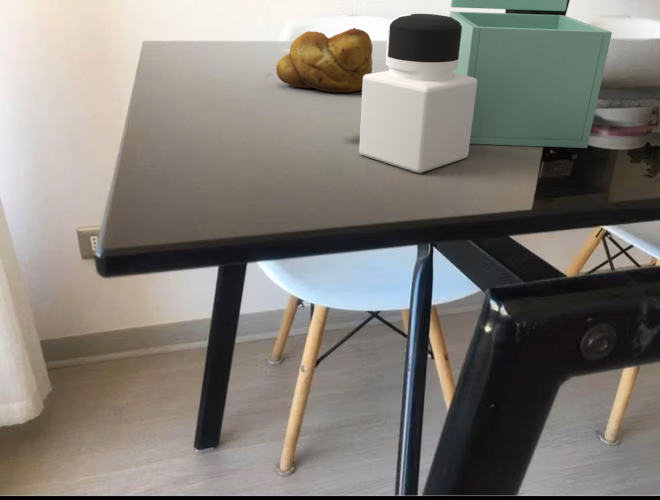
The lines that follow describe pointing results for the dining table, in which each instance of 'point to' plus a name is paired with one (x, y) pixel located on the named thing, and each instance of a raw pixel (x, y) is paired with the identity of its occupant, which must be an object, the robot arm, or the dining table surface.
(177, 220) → the dining table surface
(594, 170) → the dining table surface
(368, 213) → the dining table surface
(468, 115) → the medicine bottle
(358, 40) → the bread roll
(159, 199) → the dining table surface
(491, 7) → the lid
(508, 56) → the cool box
